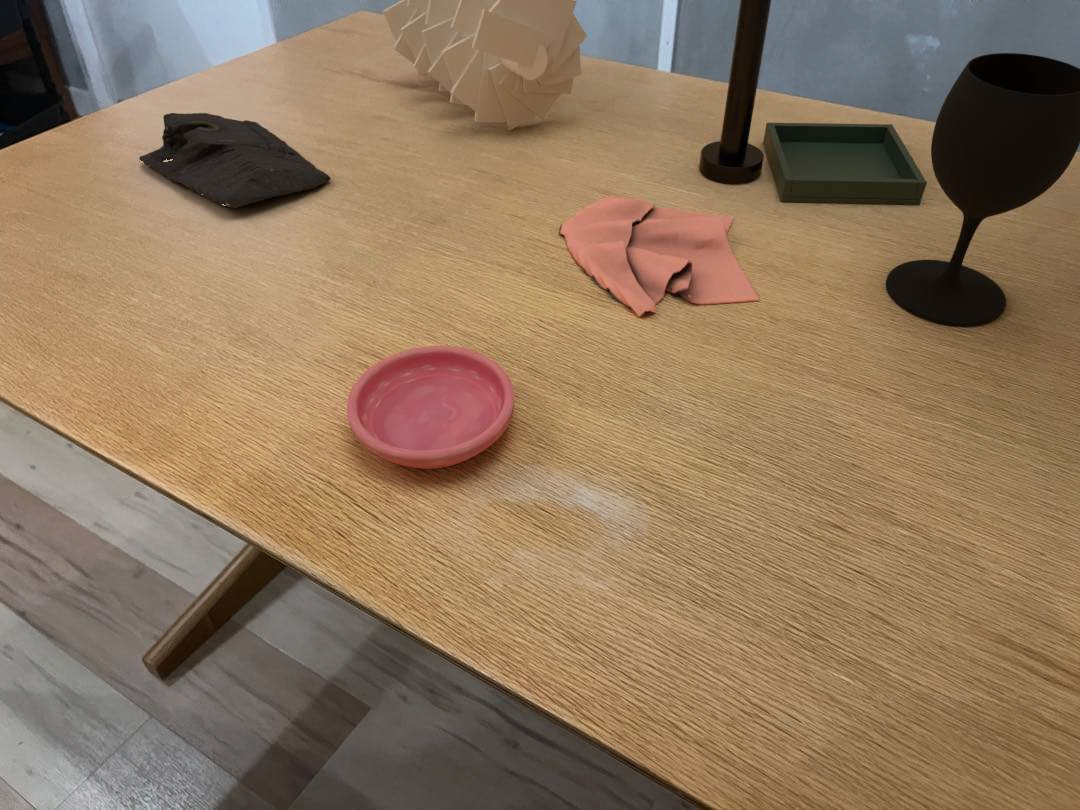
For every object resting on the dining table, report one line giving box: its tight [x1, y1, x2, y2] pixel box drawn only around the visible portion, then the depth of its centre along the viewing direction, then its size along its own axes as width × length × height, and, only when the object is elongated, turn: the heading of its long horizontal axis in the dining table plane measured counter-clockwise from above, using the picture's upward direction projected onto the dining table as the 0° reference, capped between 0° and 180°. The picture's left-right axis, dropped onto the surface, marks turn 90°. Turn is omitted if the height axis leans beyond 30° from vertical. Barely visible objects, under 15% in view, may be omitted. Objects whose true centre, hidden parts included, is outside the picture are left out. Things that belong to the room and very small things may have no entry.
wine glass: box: [885, 52, 1080, 327], centre depth 69 cm, size 10×10×20 cm
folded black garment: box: [138, 112, 332, 209], centre depth 94 cm, size 15×22×5 cm
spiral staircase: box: [382, 0, 588, 131], centre depth 103 cm, size 18×18×25 cm
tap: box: [698, 0, 772, 185], centre depth 83 cm, size 10×7×34 cm, turn 86°
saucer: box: [346, 345, 516, 470], centre depth 62 cm, size 12×12×3 cm
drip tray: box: [762, 122, 928, 206], centre depth 93 cm, size 15×15×3 cm
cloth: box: [558, 195, 760, 318], centre depth 80 cm, size 20×22×2 cm
